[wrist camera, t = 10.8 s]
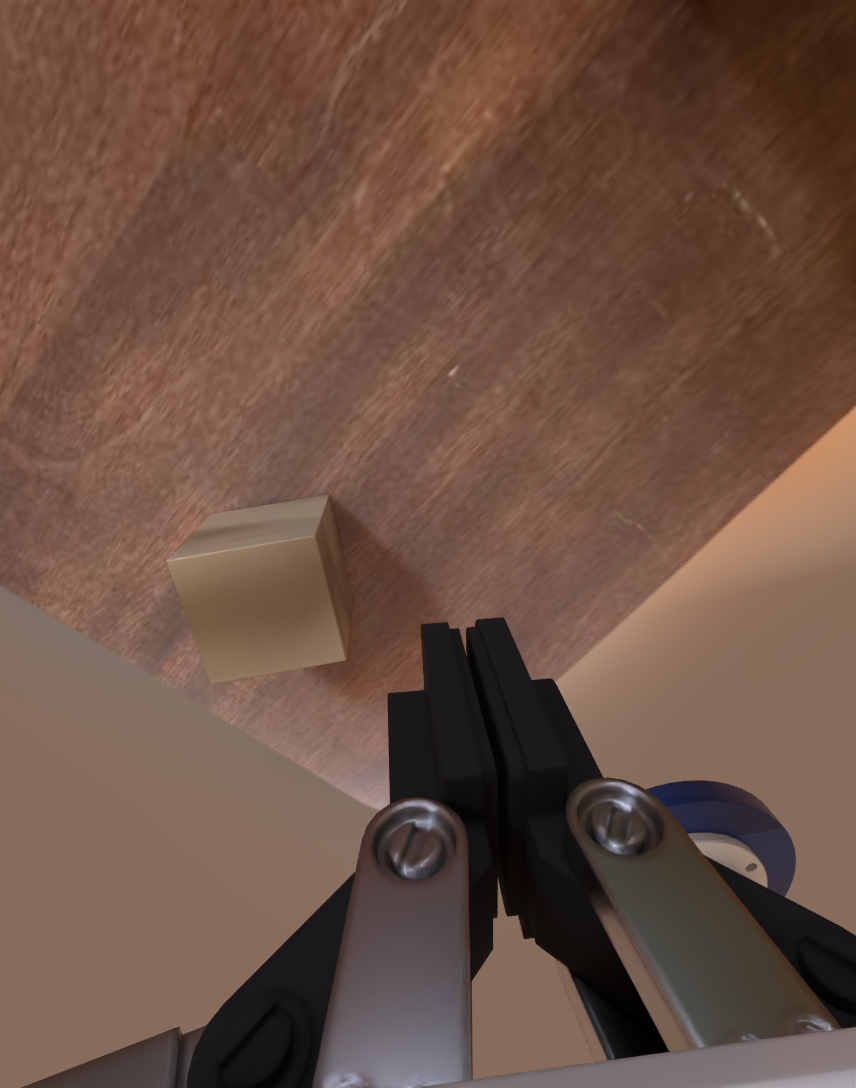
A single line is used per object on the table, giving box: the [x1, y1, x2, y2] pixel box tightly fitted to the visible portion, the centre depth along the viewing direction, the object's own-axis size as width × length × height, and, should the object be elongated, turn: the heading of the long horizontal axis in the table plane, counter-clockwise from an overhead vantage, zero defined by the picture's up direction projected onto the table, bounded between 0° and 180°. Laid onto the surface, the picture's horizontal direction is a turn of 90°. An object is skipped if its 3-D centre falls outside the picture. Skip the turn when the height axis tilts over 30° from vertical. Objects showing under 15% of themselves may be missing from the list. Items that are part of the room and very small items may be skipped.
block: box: [166, 494, 353, 684], centre depth 25 cm, size 6×6×6 cm
